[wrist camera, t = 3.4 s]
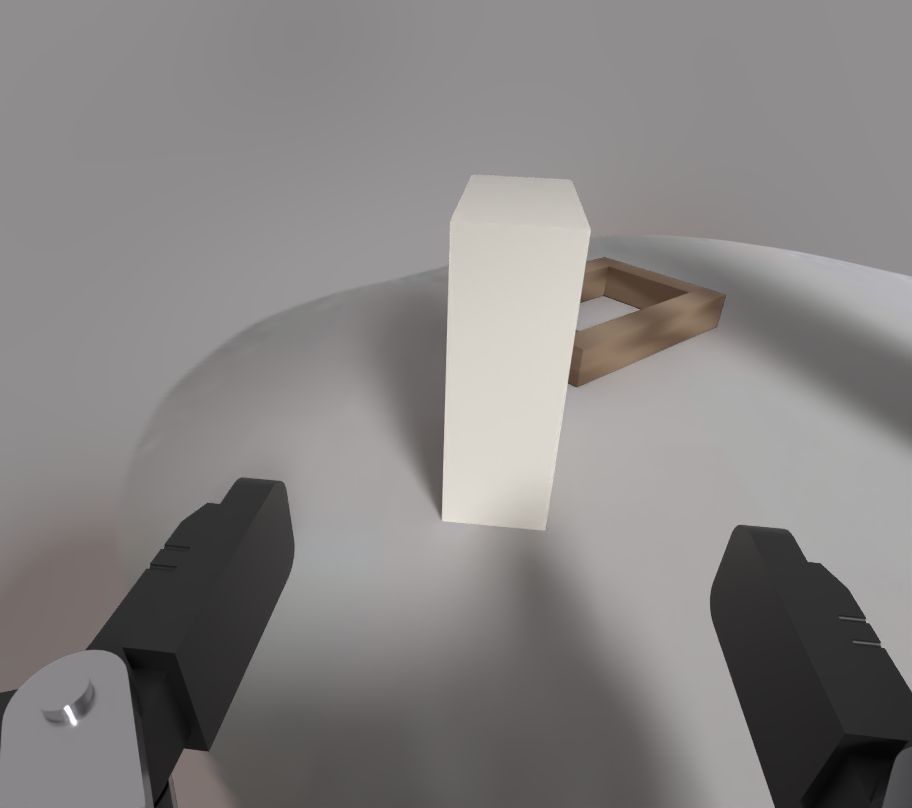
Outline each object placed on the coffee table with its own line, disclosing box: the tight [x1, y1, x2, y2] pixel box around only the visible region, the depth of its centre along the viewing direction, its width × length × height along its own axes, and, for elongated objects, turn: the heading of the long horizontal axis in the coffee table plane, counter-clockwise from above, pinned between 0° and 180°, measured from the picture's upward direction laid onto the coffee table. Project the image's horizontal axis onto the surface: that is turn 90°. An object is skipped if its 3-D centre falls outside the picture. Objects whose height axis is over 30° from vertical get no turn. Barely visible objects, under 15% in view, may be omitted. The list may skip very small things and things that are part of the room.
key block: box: [442, 175, 591, 531], centre depth 20 cm, size 4×7×10 cm, turn 174°
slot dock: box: [568, 257, 726, 387], centre depth 34 cm, size 13×9×2 cm
